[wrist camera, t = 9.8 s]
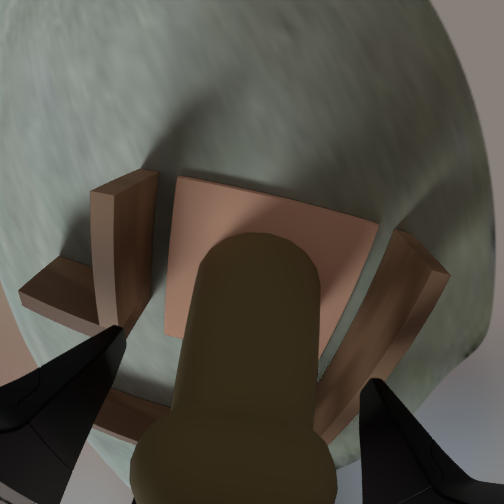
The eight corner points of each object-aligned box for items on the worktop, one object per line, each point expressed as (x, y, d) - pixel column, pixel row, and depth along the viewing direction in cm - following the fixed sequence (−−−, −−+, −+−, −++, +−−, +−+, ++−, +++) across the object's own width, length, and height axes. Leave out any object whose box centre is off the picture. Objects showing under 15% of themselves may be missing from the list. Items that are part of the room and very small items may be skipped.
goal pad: (314, 361, 16) (315, 366, 16) (166, 329, 16) (164, 334, 16) (376, 222, 12) (379, 226, 12) (180, 175, 12) (177, 177, 12)
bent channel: (294, 436, 21) (294, 476, 17) (88, 383, 20) (69, 416, 17) (411, 233, 12) (451, 275, 9) (54, 157, 12) (0, 175, 8)
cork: (193, 326, 15) (126, 522, 5) (200, 221, 12) (51, 471, 2) (302, 344, 15) (308, 548, 5) (335, 245, 12) (417, 515, 2)
